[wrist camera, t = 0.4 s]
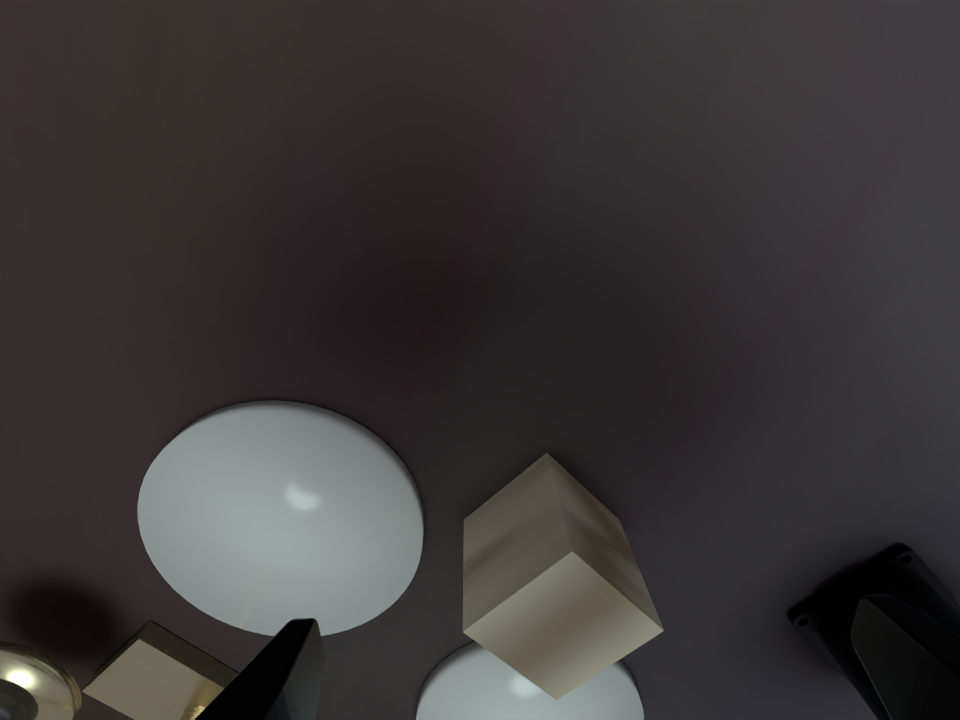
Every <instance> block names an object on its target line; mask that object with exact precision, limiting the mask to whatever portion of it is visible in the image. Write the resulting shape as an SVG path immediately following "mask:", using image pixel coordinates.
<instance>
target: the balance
mask: <svg viewBox="0 0 960 720" xmlns="http://www.w3.org/2000/svg"><path fill="white" fill-rule="evenodd" d="M238 674H239V673H237V672H235V671H234V670H232V669H230V668H229V667H227V666H225V665H224V664H222V663H220V662H218V661H217V660H215V659H213V658H212V657H210V656H208V655H207V654H205V653H203V652H202V651H200V650H198V649H197V648H195V647H193V646H192V645H190V644H188V643H187V642H185V641H183V640H182V639H180V638H178V637H177V636H175V635H173V634H172V633H170V632H168V631H167V630H165V629H163V628H162V627H160V626H158V625H157V624H155V623H153V622H152V621H150V622H149V623H148V624H147V625H146V626H145V627H144V628H143V629H142V630H141V631H139V632H138V633H137V634H136V635H135V636H134V637H133V638H132V639H131V640H130V641H129V642H128V643H127V644H126V645H125V646H123V647H122V648H121V649H120V650H119V651H118V652H117V653H116V654H115V655H114V656H113V657H112V658H111V659H110V660H108V661H107V662H106V663H105V664H104V665H103V666H102V667H101V668H100V669H99V670H98V671H97V672H96V673H95V674H94V675H93V677H92V678H91V680H90V681H89V682H88V684H87V685H86V687H85V688H84V690H83V691H82V692H84V693H86V694H88V695H89V696H91V697H93V698H95V699H97V700H99V701H101V702H103V703H104V704H106V705H108V706H110V707H112V708H114V709H116V710H118V711H120V712H121V713H123V714H125V715H127V716H129V717H131V718H133V719H135V720H194V719H195V718H196V717H197V716H198V715H199V714H200V713H201V712H202V711H203V710H204V709H205V708H206V707H207V706H208V705H209V704H210V703H211V702H212V701H213V700H214V699H215V698H216V697H217V695H218V694H219V693H220V692H221V691H222V690H223V689H224V688H225V687H226V686H227V685H228V684H229V683H230V682H231V681H232V680H233V679H234V678H235V677H236V676H237V675H238ZM81 701H82V700H81V693H80V689H79V687H78V685H77V683H76V681H75V680H74V678H73V677H72V676H71V675H70V673H69V672H68V671H67V670H66V669H65V668H64V667H62V666H61V665H60V664H59V663H57V662H56V661H55V660H53V659H52V658H50V657H48V656H47V655H45V654H43V653H41V652H39V651H36V650H34V649H31V648H29V647H26V646H22V645H19V644H14V643H10V642H3V641H0V720H74V718H75V717H76V715H77V714H78V712H79V710H80V707H81Z"/></svg>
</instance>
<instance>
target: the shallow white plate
mask: <svg viewBox="0 0 960 720" xmlns="http://www.w3.org/2000/svg"><path fill="white" fill-rule="evenodd" d="M416 720H644V714H643V707H642V704H641V700H640V697H639V694H638V691H637V687H636V684H635V681H634V679H633V677H632V675H631V673H630V671H629V670H628V669H627V667H626V666H625V665H624V663H623V662H622V661H621V660H618V661H617V662H615V663H614V664H612V665H610V666H609V667H607V668H606V669H604V670H603V671H601V672H600V673H598V674H597V675H595V676H594V677H592V678H591V679H589V680H587V681H586V682H584V683H583V684H581V685H580V686H578V687H577V688H575V689H574V690H572V691H571V692H569V693H567V694H566V695H564V696H563V697H561V698H560V699H558V700H555V699H554V698H553V697H551V696H550V695H548V694H547V693H546V692H544V691H543V690H542V689H540V688H539V687H538V686H536V685H535V684H533V683H532V682H531V681H529V680H528V679H527V678H525V677H524V676H522V675H521V674H520V673H518V672H517V671H516V670H514V669H513V668H512V667H510V666H509V665H507V664H506V663H505V662H503V661H502V660H501V659H499V658H498V657H496V656H495V655H494V654H492V653H491V652H490V651H488V650H487V649H486V648H484V647H483V646H481V645H480V644H479V643H477V642H476V641H474V642H472V643H470V644H468V645H466V646H464V647H462V648H460V649H458V650H457V651H455V652H454V653H452V654H451V655H449V656H448V657H447V658H445V659H444V660H443V661H442V662H441V663H439V664H438V666H437V667H436V668H435V669H434V670H433V671H432V672H431V673H430V675H429V676H428V678H427V679H426V681H425V682H424V685H423V687H422V689H421V691H420V695H419V699H418V704H417V715H416Z"/></svg>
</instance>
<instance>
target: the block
mask: <svg viewBox="0 0 960 720" xmlns="http://www.w3.org/2000/svg"><path fill="white" fill-rule="evenodd" d="M663 631H664V629H663V627H662V624H661V622H660V619H659V617H658V614H657V612H656V609H655V607H654V605H653V602H652V600H651V597H650V595H649V592H648V590H647V587H646V585H645V582H644V580H643V577H642V575H641V572H640V570H639V567H638V565H637V563H636V560H635V558H634V555H633V553H632V550H631V548H630V545H629V543H628V540H627V538H626V535H625V533H624V530H623V528H622V525H621V523H620V520H619V519H618V518H617V517H616V516H615V515H614V514H613V513H611V512H610V511H609V510H608V509H607V508H606V507H605V506H604V505H603V504H602V503H601V502H600V501H599V500H597V499H596V498H595V497H594V496H593V495H592V494H591V493H590V492H589V491H588V490H587V489H586V488H585V487H583V486H582V485H581V484H580V483H579V482H578V481H577V480H576V479H575V478H574V477H573V476H572V475H570V474H569V473H568V472H567V471H566V470H565V469H564V468H563V467H562V466H561V465H560V464H559V463H558V462H556V461H555V460H554V459H553V458H552V457H551V456H550V455H549V454H548V453H546V454H544V455H543V456H542V457H541V458H539V459H538V460H537V461H536V462H535V463H533V464H532V465H531V466H530V467H528V468H527V469H526V470H525V471H523V472H522V473H521V474H520V475H518V476H517V477H516V478H515V479H514V480H512V481H511V482H510V483H509V484H507V485H506V486H505V487H504V488H502V489H501V490H500V491H499V492H497V493H496V494H495V495H494V496H493V497H491V498H490V499H489V500H488V501H486V502H485V503H484V504H483V505H481V506H480V507H479V508H478V509H476V510H475V511H474V512H473V513H472V514H470V515H469V516H468V517H467V518H465V519H464V558H463V632H464V633H465V634H466V635H468V636H469V637H470V638H472V639H473V640H475V641H476V642H477V643H479V644H480V645H481V646H483V647H484V648H486V649H487V650H488V651H490V652H491V653H492V654H494V655H495V656H496V657H498V658H499V659H501V660H502V661H503V662H505V663H506V664H507V665H509V666H510V667H512V668H513V669H514V670H516V671H517V672H518V673H520V674H521V675H522V676H524V677H525V678H527V679H528V680H529V681H531V682H532V683H533V684H535V685H536V686H538V687H539V688H540V689H542V690H543V691H544V692H546V693H547V694H548V695H550V696H551V697H553V698H554V699H555V700H558V699H560V698H561V697H563V696H564V695H566V694H567V693H569V692H571V691H572V690H574V689H575V688H577V687H578V686H580V685H581V684H583V683H584V682H586V681H587V680H589V679H591V678H592V677H594V676H595V675H597V674H598V673H600V672H601V671H603V670H604V669H606V668H607V667H609V666H610V665H612V664H614V663H615V662H617V661H618V660H620V659H621V658H623V657H624V656H626V655H627V654H629V653H630V652H632V651H634V650H635V649H637V648H638V647H640V646H641V645H643V644H644V643H646V642H647V641H649V640H650V639H652V638H654V637H655V636H657V635H658V634H660V633H661V632H663Z"/></svg>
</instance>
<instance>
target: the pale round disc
mask: <svg viewBox="0 0 960 720" xmlns="http://www.w3.org/2000/svg"><path fill="white" fill-rule="evenodd" d="M138 523H139V528H140V533H141V537H142V540H143V543H144V546H145V548H146V551H147V553H148V555H149V557H150V558H151V560H152V562H153V564H154V566H155V567H156V568H157V570H158V571H159V573H160V574H161V575H162V577H163V578H164V579H165V580H166V581H167V582H168V583H169V584H170V586H171V587H172V588H173V589H174V590H175V591H176V592H178V593H179V594H180V595H181V596H182V597H183V598H184V599H186V600H187V601H188V602H190V603H191V604H193V605H194V606H195V607H197V608H198V609H200V610H201V611H203V612H205V613H207V614H208V615H210V616H212V617H214V618H216V619H218V620H220V621H223V622H225V623H227V624H229V625H232V626H235V627H238V628H241V629H244V630H247V631H251V632H255V633H260V634H264V635H271V636H275V635H276V634H277V633H278V632H279V631H280V630H281V629H282V628H283V627H284V626H285V625H286V623H288V622H289V621H290V620H292V619H296V618H315V619H316V620H317V622H318V625H319V629H320V634H321V636H323V635H329V634H334V633H338V632H342V631H345V630H348V629H351V628H354V627H356V626H359V625H361V624H363V623H365V622H367V621H369V620H371V619H373V618H375V617H376V616H378V615H379V614H381V613H382V612H384V611H385V610H386V609H388V608H389V607H390V606H391V605H392V604H393V603H394V602H395V601H396V600H398V598H399V597H400V596H401V595H402V593H403V592H404V591H405V590H406V589H407V587H408V585H409V584H410V582H411V580H412V579H413V577H414V575H415V572H416V570H417V567H418V565H419V561H420V556H421V552H422V545H423V536H424V512H423V505H422V501H421V497H420V494H419V491H418V488H417V486H416V484H415V482H414V479H413V477H412V476H411V474H410V472H409V471H408V469H407V468H406V466H405V464H404V463H403V462H402V461H401V459H400V458H399V457H398V456H397V454H396V453H395V452H394V451H393V450H392V449H391V448H390V447H389V446H388V445H387V444H386V443H385V442H384V441H383V440H381V439H380V438H379V437H378V436H376V435H375V434H374V433H372V432H371V431H370V430H368V429H367V428H365V427H364V426H362V425H360V424H358V423H357V422H355V421H353V420H351V419H350V418H347V417H345V416H343V415H340V414H338V413H336V412H333V411H331V410H328V409H324V408H321V407H318V406H314V405H310V404H305V403H299V402H293V401H280V400H264V401H251V402H245V403H239V404H234V405H231V406H228V407H224V408H221V409H218V410H216V411H213V412H211V413H209V414H207V415H205V416H203V417H201V418H199V419H198V420H196V421H195V422H193V423H192V424H190V425H189V426H187V427H186V428H185V429H184V430H183V431H182V432H180V433H179V434H178V435H177V436H176V437H175V438H174V439H173V440H172V441H171V442H170V443H169V444H168V445H167V446H166V447H165V448H164V449H163V450H162V451H161V452H160V453H159V455H158V456H157V457H156V459H155V460H154V461H153V462H152V464H151V466H150V468H149V469H148V471H147V473H146V475H145V477H144V480H143V483H142V486H141V489H140V493H139V500H138Z"/></svg>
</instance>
